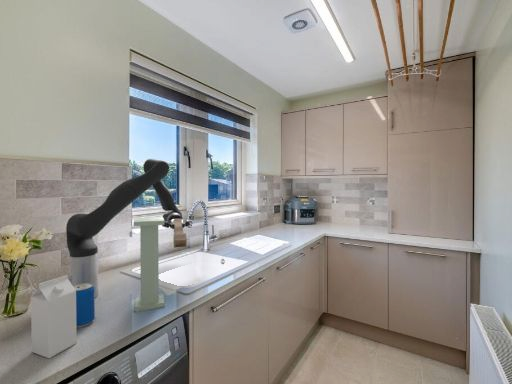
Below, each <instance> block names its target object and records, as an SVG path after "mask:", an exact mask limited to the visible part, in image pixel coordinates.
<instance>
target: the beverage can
mask: <svg viewBox="0 0 512 384" xmlns="http://www.w3.org/2000/svg"><path fill="white" fill-rule="evenodd" d="M74 288H75V290H76V328H83V327H86V326H88V325H90V324H91V323H92V322H93V321H94V320H95V314H96V313H95V312H96V310H95V298H94V287H93V284H91V283H83V284H79V285H76V286H74Z"/></svg>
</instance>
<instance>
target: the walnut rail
mask: <svg viewBox="0 0 512 384" xmlns="http://www.w3.org/2000/svg"><path fill="white" fill-rule="evenodd" d="M173 223H174V229H173V248H176V249H177V248H185V247H187V242H188V238H187V233H185V232H184V228H183V226H182V220H181V218H179V219H173Z"/></svg>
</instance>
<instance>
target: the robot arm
mask: <svg viewBox="0 0 512 384" xmlns="http://www.w3.org/2000/svg"><path fill="white" fill-rule="evenodd" d="M143 171H144V173H143V174H141V175H138V176H134V177H131V178H129V179H127V180H125V181H123V182H121V183H120V184H118V185H117V186H116V187H114V188H113V189H112V190H111V191H110V193H109V194H108V196H107V197H106V199H105V201H103V203H102V204H101V205H100V206H98V207H97V208H96V209H94V210H92V211H91V212H89V213H76V214H73V215H72V216H70V217H69V219H68V221H67V222H66V228H65V229H66V230H65V232H66V246H67V249H68V252H69V275H68V280H69V281H70V283H71V284H72V285H73V287H74V286H76V285H79V284H83V283H91V284H93V287H94V299H95V298H96V297H98V296H99V258H98V257H99V256H98V255H99V253H98V252H99V250H98V245H97V244H96V243H95V241H94V239H93V237H95V236H96V235H98V234H99V233H100V232H101V231H102V230H103V229H104V228H105V227H106V226H107V225H108V224H109V223H110V222H111V221H112V220H113V219H114V218H115V217H116V216H117V215H119V214H120V213H121V212H122V211H123V210H124V209H126V208H127V207H128V206H129V205H130V204H132V203H133V202H135V200H137V199H138V198H139V197H140V196H142V194H144V193H145V192H146V191H147V190H149V189H150V188H151V187H152V188H153V189H154V192H155V193H156V195H157V197H158V200H159V204H160V205H161V208H162V210H163V211H165V213H164V214H163V215H162V218H164V225H161V226H162V227H163V228H166V229H169V228H170V229H171V230H174V223H173V219H179V218H181V220H182V226H183V229H184V228H185V227H186V228H188V227H189V226H191V219H187V220H185V219H184V218H183V214H182V212H181V211H180V210H179V208H178V207H177V205H176V203H175V200H174V197H173V194H172V193H171V191H170V189H169V188H168V187H167V186H166V185H165V183H164V181H162V180H163V179H164V178H165V177H166V176H167V175H168V174H169V172H170V164H169V163H168V162H167V161H165V160H163V159H157V158H148V159H146V160H145V161H144V163H143Z"/></svg>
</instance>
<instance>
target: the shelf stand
mask: <svg viewBox="0 0 512 384" xmlns="http://www.w3.org/2000/svg"><path fill="white" fill-rule="evenodd" d="M162 225H164V218H163V217H152V218H151V217H147V218H146V217H145V218H135V219H134V221H133V227H139V228H140V229H139V230H140V232H139V233H140V238H139V239H140V246H139V247H140V248H139V249H140V252H139V253H140V297H135V301H134V308H133V309H134V312H141V311H148V310H152V309H153V310H154V309H159V308H165V307H166V306H165V296H164V295H165V294H164V293H162V294H159V293H160V291H159V287H160V286H159V285H160V283H159V274H160V273H159V226H162Z"/></svg>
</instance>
